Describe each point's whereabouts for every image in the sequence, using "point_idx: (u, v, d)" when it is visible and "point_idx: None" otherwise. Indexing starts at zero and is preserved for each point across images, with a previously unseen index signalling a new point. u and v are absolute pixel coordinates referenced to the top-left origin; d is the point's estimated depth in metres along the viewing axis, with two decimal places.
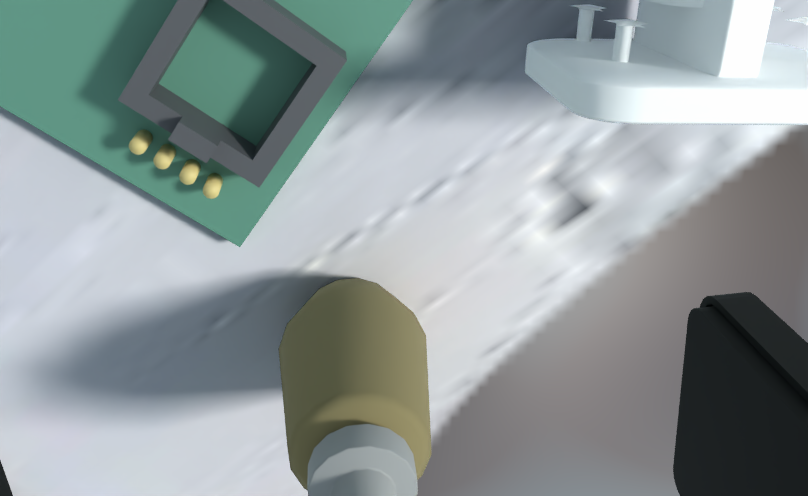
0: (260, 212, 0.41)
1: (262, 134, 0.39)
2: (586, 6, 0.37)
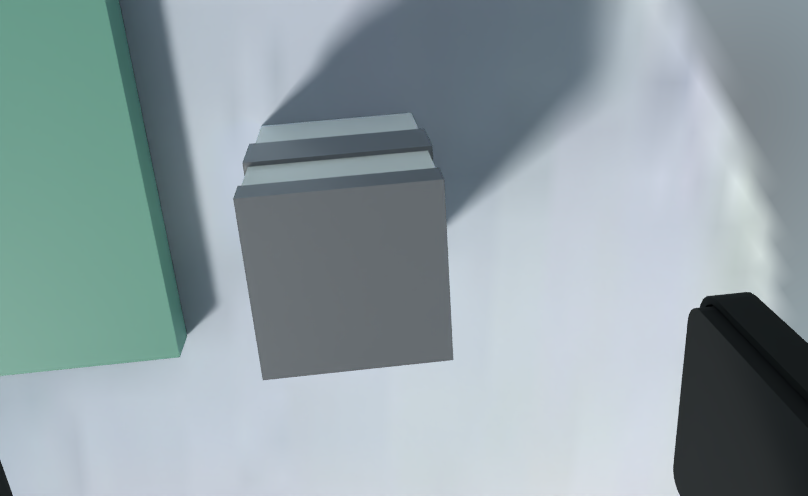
0: None
1: None
2: None
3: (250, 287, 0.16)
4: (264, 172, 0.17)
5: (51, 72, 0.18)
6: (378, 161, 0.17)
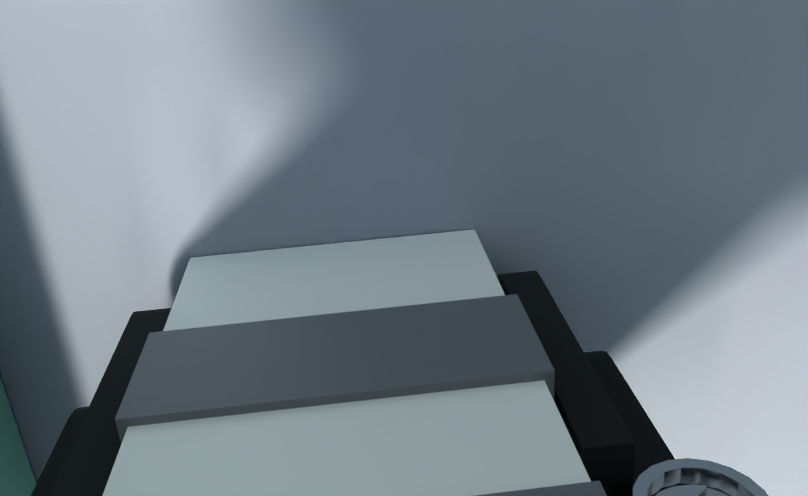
0: None
1: None
2: None
3: None
4: (161, 456, 0.07)
5: None
6: (438, 428, 0.07)
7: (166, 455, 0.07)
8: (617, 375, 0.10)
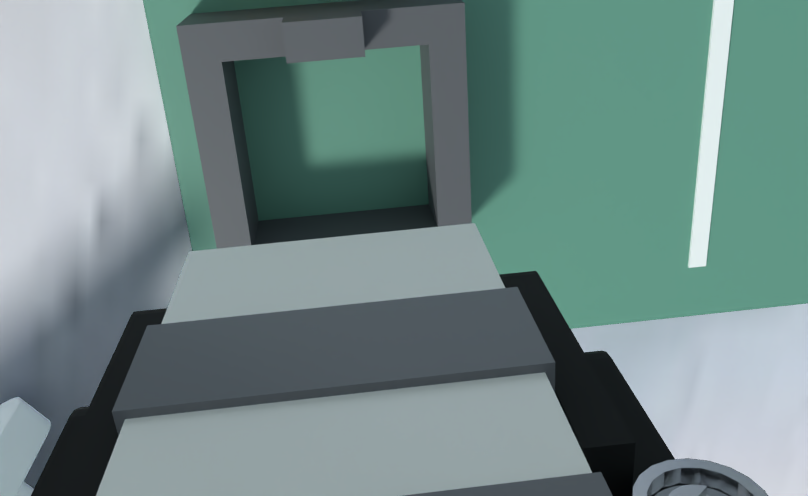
0: None
1: (237, 69, 0.23)
2: None
3: None
4: (158, 449, 0.07)
5: None
6: (437, 419, 0.07)
7: (163, 447, 0.07)
8: (617, 375, 0.10)
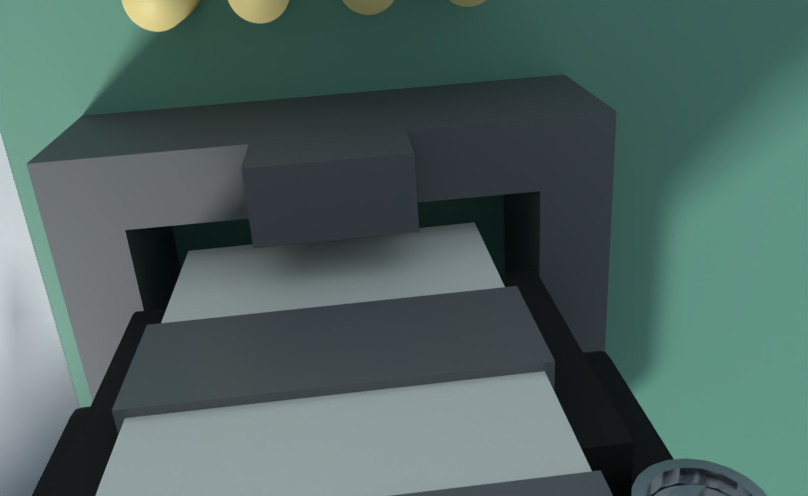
0: None
1: None
2: None
3: None
4: (157, 447, 0.07)
5: None
6: (436, 419, 0.07)
7: (163, 446, 0.07)
8: (617, 375, 0.10)
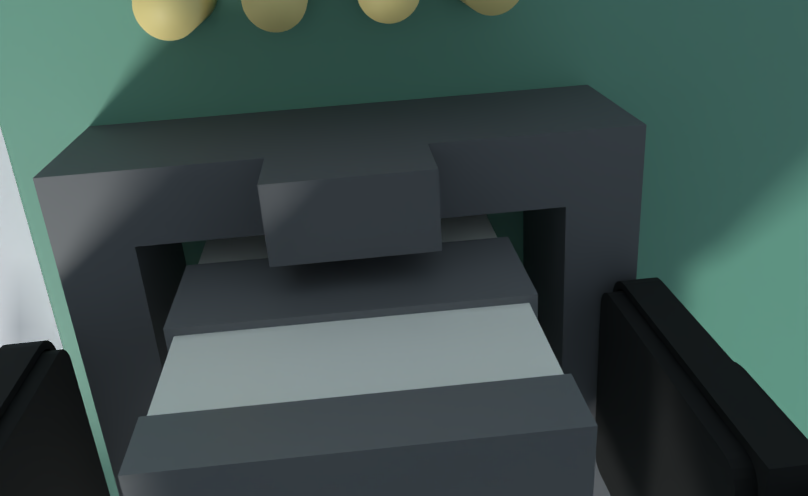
0: None
1: None
2: None
3: None
4: (203, 358, 0.08)
5: None
6: (437, 336, 0.08)
7: (208, 357, 0.08)
8: None
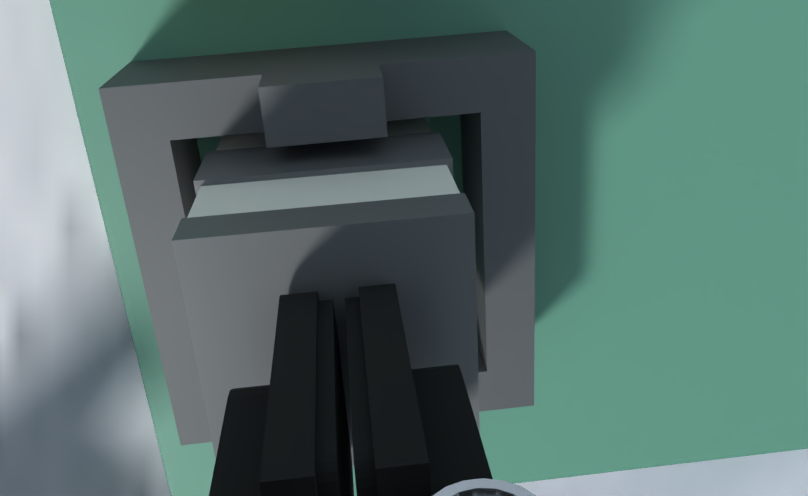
0: None
1: (200, 139, 0.16)
2: None
3: (199, 361, 0.11)
4: (222, 194, 0.12)
5: None
6: (381, 181, 0.12)
7: (225, 194, 0.12)
8: (464, 389, 0.10)
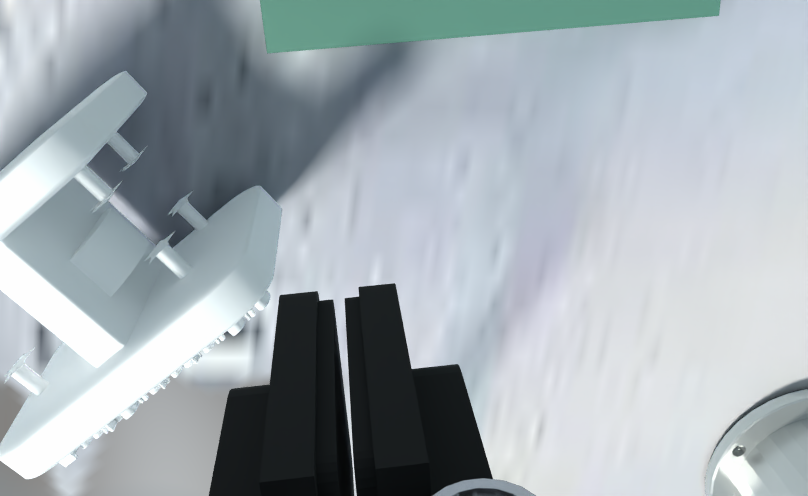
0: None
1: None
2: (136, 160, 0.37)
3: None
4: None
5: None
6: None
7: None
8: (464, 389, 0.10)
